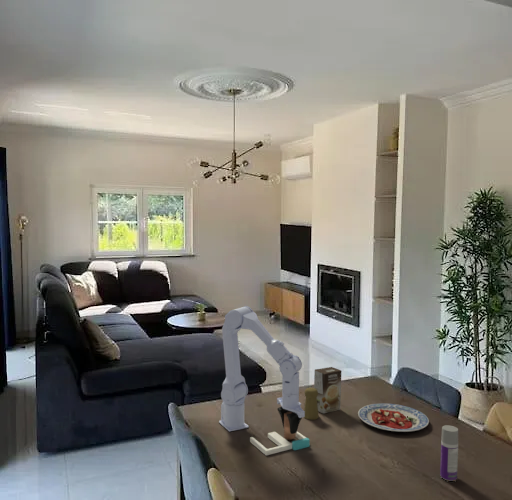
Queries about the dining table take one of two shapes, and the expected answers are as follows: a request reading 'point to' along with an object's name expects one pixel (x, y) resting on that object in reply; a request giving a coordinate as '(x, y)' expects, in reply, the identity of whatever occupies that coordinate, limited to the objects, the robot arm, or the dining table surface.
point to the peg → (288, 428)
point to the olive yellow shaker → (311, 404)
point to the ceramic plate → (393, 417)
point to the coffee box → (328, 389)
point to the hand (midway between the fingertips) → (290, 430)
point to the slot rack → (281, 443)
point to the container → (449, 453)
